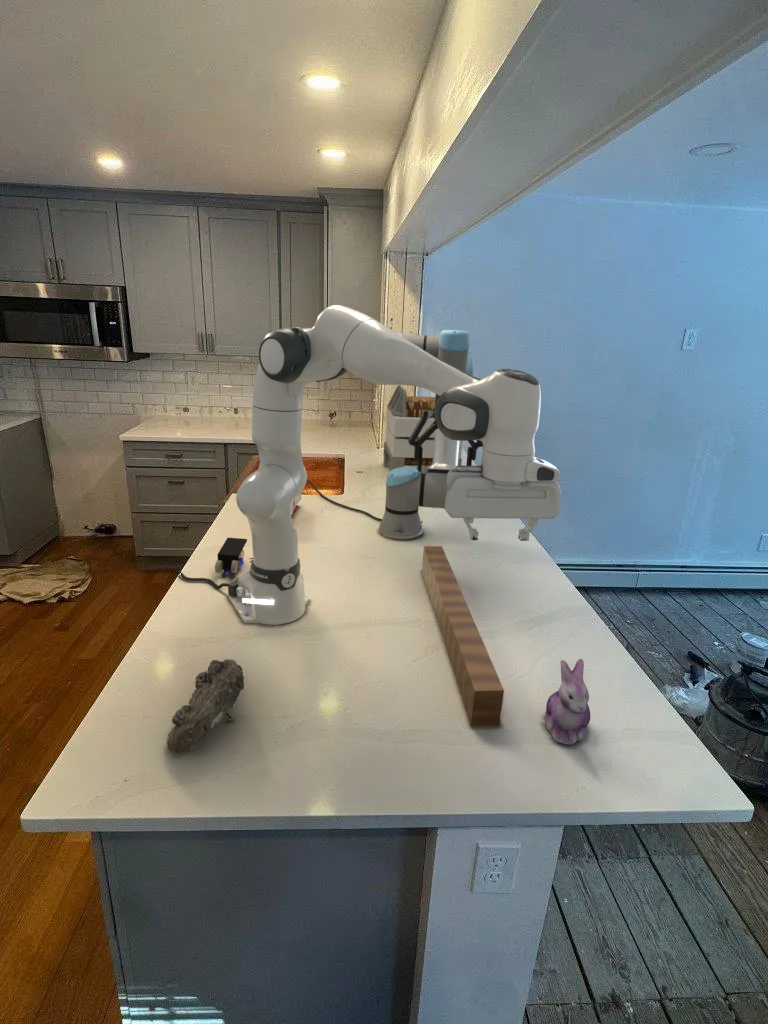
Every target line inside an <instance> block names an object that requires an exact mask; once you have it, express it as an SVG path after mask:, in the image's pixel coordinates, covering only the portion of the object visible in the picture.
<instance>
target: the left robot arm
mask: <svg viewBox="0 0 768 1024" xmlns="http://www.w3.org/2000/svg"><path fill="white" fill-rule="evenodd" d="M398 334H399V333H397V332H396V331H394V330H392V329H391V328H389V327H388V326H386V325H384V324H383V323H381V322H379V321H378V320H376V319H375V318H373V317H371V316H369V315H367V314H365V313H363V312H361V311H358V310H356V309H354V308H351V307H348V306H345V305H342V304H341V305H340V304H332V305H330V306H328V307H326V308H325V309H323V310H322V311H321V312H320V313H319V315H318V316H317V318H316V320H315V323H314V325H313V326H312V327H303V328H302V327H300V326H293V327H283V328H280V329H276V330H274V331H273V330H272V331H270V332H269V333H267V334H266V335H265V336H264V337H263V338H262V339H261V341H260V344H259V347H258V361H259V364H258V365H257V369H256V372H255V373H256V374H255V379H254V385H253V392H252V407H251V409H252V412H251V439H252V442H253V443H254V444H255V446H256V449H257V453H258V454H257V455H258V459H259V464H258V468H257V470H255V471H254V472H252V473H250V474H249V475H248V476H246V478H244V479H243V482H242V483H241V484H240V485H239V487H238V489H237V492H236V495H235V500H236V501H235V502H236V505H237V508H238V509H239V511H240V512H241V514H243V516H245V518H246V519H247V521H248V522H247V523H248V525H249V528H250V532H251V533H250V534H251V543H252V557H251V558H250V557H249V564H250V563H251V564H250V567H249V570H248V571H247V572H246V573H244V574H242V575H241V576H240V577H237V578H236V579H234V580H233V581H231V582H230V583H228V582H223V583H220V584H217V583H216V582H215V581H214V580H212V579H210V578H207V577H189V576H186V575H185V574H184V573H183V572H182V570H180V569H178V570H176V571H175V572H174V574H175V575H178V574H179V575H180V573H181V572H182V573H181V575H180V577H181V578H182V579H183V580H185V581H189V582H206V583H209V584H211V585H212V586H213V588H215V589H219V590H221V589H222V588H223V587H227V594H228V599H229V601H230V602H231V604H232V605H233V607H234V609H235V610H236V613H237V614H238V615H239V617H240V619H241V620H242V622H243V623H246V624H263V625H271V626H272V625H273V626H274V625H277V626H278V625H284V624H288V623H291V622H295V621H297V620H298V619H300V618H301V617H303V615H304V614H305V612H306V606H307V605H308V604H309V601H310V600H309V597H308V596H306V592H305V581H304V575H303V574H301V560H300V558H299V532H298V529H297V528H296V527H295V526H294V523H293V519H292V515H291V514H290V507H291V504H292V502H293V501H294V500H295V499H296V498H297V497H298V496H299V495H300V494H301V495H302V493H303V491H304V488H305V487H306V484H307V479H308V472H307V469H306V467H305V466H304V460H303V453H302V441H301V434H302V419H303V418H302V417H303V416H302V415H303V394H304V389H305V387H306V385H307V384H310V383H320V382H326V381H333V380H335V379H338V378H339V377H342V376H343V375H345V374H346V373H347V372H348V373H350V374H352V375H353V376H355V377H356V378H359V379H361V380H363V381H366V382H367V383H370V384H373V385H379V386H380V385H382V386H398V385H400V386H411V387H417V388H422V389H425V390H427V391H430V392H431V393H433V394H435V395H436V394H437V395H439V396H440V397H439V399H438V401H437V403H436V406H435V420H436V424H437V426H438V428H439V430H440V431H441V433H442V434H443V435H444V436H446V437H447V438H449V439H451V440H457V441H463V442H468V441H467V440H473V441H477V440H480V441H482V443H483V447H482V450H481V451H482V452H481V461H480V465H471V466H466V465H464V464H461V465H458V466H456V467H455V468H452V469H451V470H450V471H449V472H448V474H447V480H446V485H447V487H448V490H447V495H446V500H445V509H444V510H445V512H446V514H447V515H448V516H449V517H450V518H452V519H463V522H464V524H465V526H466V529H468V530H467V540H468V541H472V542H473V541H479V530H478V529H477V528H473V527H472V525H471V524H474V520H475V519H503V520H504V519H507V520H508V519H509V520H510V519H512V520H514V519H518V520H520V519H521V520H522V519H524V520H526V521H527V522H526V524H525V525H524V527H523V528H518V534H517V538H518V539H517V540H519V541H520V542H528V541H529V540H530V535H531V534H530V533H532V531H534V529H535V527H536V526H537V525H538V522H539V520H554V519H555V518H556V517H557V516H558V515H559V514H560V511H561V498H562V491H561V485H560V484H559V483H558V481H559V480H560V477H561V471H560V470H559V468H557V467H556V466H555V465H553V464H552V463H550V462H548V461H547V460H544V459H541V458H539V457H536V456H535V453H536V447H535V437H536V434H537V431H538V430H539V429H538V428H539V426H540V418H541V417H540V415H541V404H542V403H541V402H542V393H541V392H542V391H541V385H540V381H539V380H538V379H537V378H536V377H535V376H533V375H532V374H530V373H528V372H525V371H521V370H517V369H511V368H499V369H498V368H497V369H496V370H495V371H493V372H492V373H491V374H489V375H488V376H486V377H484V378H480V377H476V376H474V375H473V376H472V375H470V374H468V373H466V372H464V371H462V370H460V369H458V368H457V367H455V366H453V365H451V364H449V363H447V362H445V361H443V360H441V359H439V358H437V357H435V356H433V355H431V354H429V353H428V352H426V351H424V350H423V349H421V348H419V347H418V346H416V345H414V344H413V343H411V342H409V341H408V340H406V339H404V338H403V337H401V336H400V335H398ZM454 470H456V471H454Z"/></svg>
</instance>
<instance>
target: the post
mask: <svg viewBox="0 0 768 1024" xmlns="http://www.w3.org/2000/svg"><path fill="white" fill-rule="evenodd" d="M422 549H423V551H422V565H421V572H422V576H423V579H424V582H425V585H426V588H427V591H428V595H429V597H430V601H431V605H432V608H433V611H434V614H435V617H436V620H437V623H438V626H439V630H440V633H441V636H442V639H443V642H444V646H445V649H446V652H447V655H448V659H449V662H450V665H451V668H452V671H453V674H454V677H455V681H456V683H457V687H458V690H459V693H460V696H461V700H462V703H463V706H464V710H465V713H466V715H467V719H468V722H469V725H470V727H499V726H500V723H501V717H502V708H503V703H504V694H505V689H504V686H503V685H502V682H501V679H500V678H499V675H498V672H497V670H496V668H495V666H494V664H493V661H492V659H491V657H490V654H489V652H488V650H487V648H486V645H485V643H484V640H483V638H482V636H481V633H480V631H479V629H478V626H477V625H476V621H475V619H474V617H473V615H472V612H471V610H470V608H469V606H468V603H467V601H466V599H465V596H464V594H463V592H462V589H461V587H460V585H459V582H458V580H457V578H456V575H455V573H454V571H453V569H452V566H451V564H450V561H449V559H448V557H447V555H446V552H445V549H444V548H443V546H441V545H438V546H437V545H423V548H422Z"/></svg>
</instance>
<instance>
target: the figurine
mask: <svg viewBox="0 0 768 1024" xmlns="http://www.w3.org/2000/svg"><path fill="white" fill-rule="evenodd" d="M584 667H585V662H584V659H583V658H579V659H577V660H576V662H575V665H574V667H573V669H572V670H571V668H570V666H569V664H568V663H567V662H566V661H565V660H564V659H562V660H560V679H561V684H560V685H559V688H558V690H557V691H555V692H553V693H552V694H550V696H549V697H548V699H547V701H546V706H545V713H544V723H545V727H546V729H547V731H548V732H549V733H550V734H551V737H552V738H553V740H554V741H555V742H557V743H560V744H564V745H570V746H571V745H572V746H573V745H575V744H576V743H577V742H580V741H582V740H583V739H584V738H585V736H586V732H587V728H588V725H589V724H590V721H591V716H592V715H591V709H590V706H589V704H588V703H589V700H590V694H589V693H590V692H589V689H588V687H587V684H586V683H585V681H584V670H585V669H584Z"/></svg>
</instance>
